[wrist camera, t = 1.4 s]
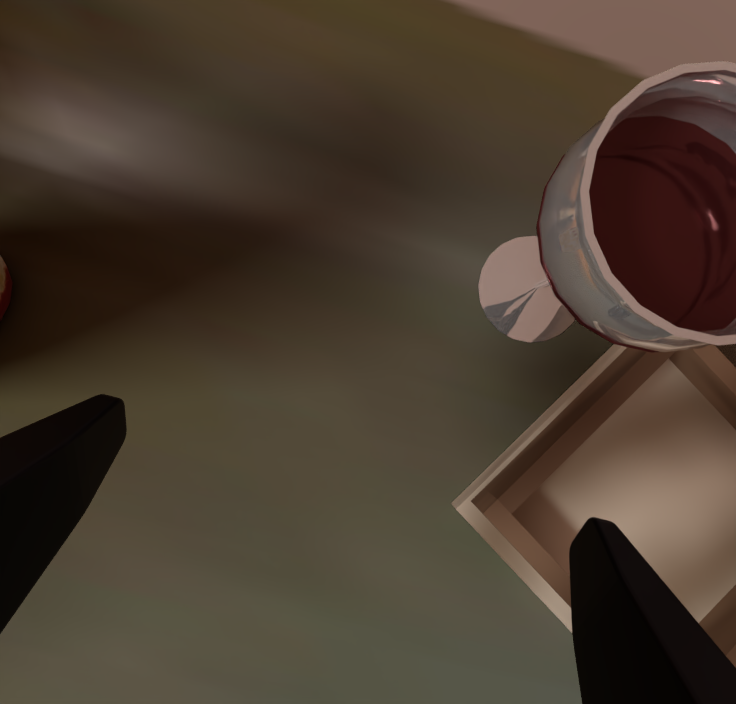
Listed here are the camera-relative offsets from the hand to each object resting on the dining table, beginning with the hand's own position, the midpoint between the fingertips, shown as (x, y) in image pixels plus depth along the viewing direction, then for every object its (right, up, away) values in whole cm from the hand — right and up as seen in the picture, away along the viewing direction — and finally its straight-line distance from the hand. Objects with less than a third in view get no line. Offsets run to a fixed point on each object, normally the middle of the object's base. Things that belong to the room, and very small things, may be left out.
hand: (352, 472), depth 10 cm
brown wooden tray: (+16, -8, +14) cm, 22 cm away
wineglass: (+8, +5, +14) cm, 17 cm away
